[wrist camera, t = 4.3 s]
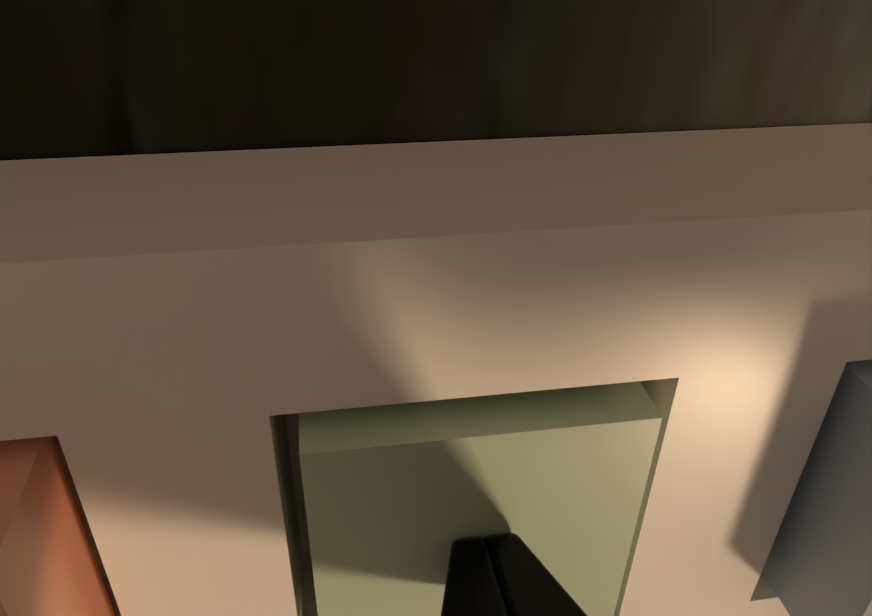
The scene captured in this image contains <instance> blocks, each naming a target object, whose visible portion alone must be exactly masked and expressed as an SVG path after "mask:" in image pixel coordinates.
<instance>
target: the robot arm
mask: <svg viewBox="0 0 872 616" xmlns="http://www.w3.org/2000/svg"><path fill="white" fill-rule="evenodd" d="M441 616H587V614H586V613H585V612H584V611H583V610H582V609H581V608H580V606H579V605H578V604H577V603H576V602H575V601H574V599H573V598H572V597H571V596H570V595H569V594H568V592H567V591H566V590H565V589H564V588H563V587H562V586H561V584H560V583H559V582H558V581H557V580H556V579H555V577H554V576H553V575H552V574H551V573H550V572H549V570H548V569H547V568H546V567H545V566H544V565H543V564H542V562H541V561H540V560H539V559H538V558H537V557H536V555H535V554H534V553H533V552H532V551H531V550H530V548H529V547H528V546H527V545H526V544H525V543H524V541H523V540H522V539H521V538H520V537H519V536H518V535H517V534H514V533H502V534H494V535H488V536H486V537H485V539H483V538H482V537H478V536H477V537H469V538H460V539H455V540H454V541H453V542H452V546H451V551H450V558H449V564H448V571H447V577H446V584H445V591H444V597H443V604H442V610H441Z"/></svg>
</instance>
